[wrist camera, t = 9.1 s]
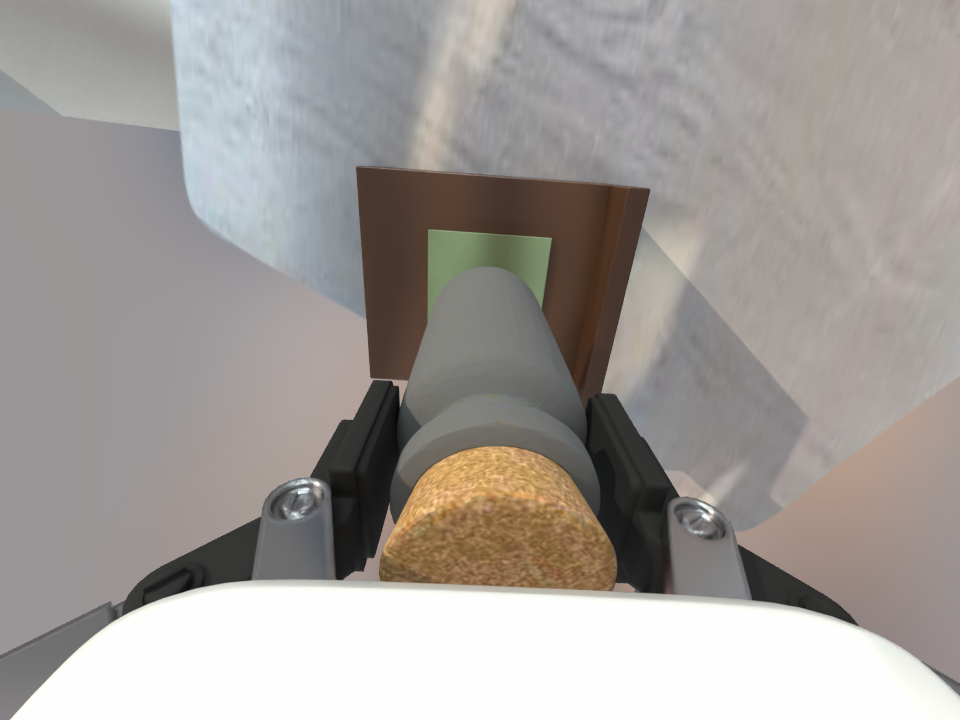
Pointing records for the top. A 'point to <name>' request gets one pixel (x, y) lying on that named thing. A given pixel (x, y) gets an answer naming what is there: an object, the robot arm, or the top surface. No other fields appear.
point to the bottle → (494, 451)
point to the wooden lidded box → (496, 256)
